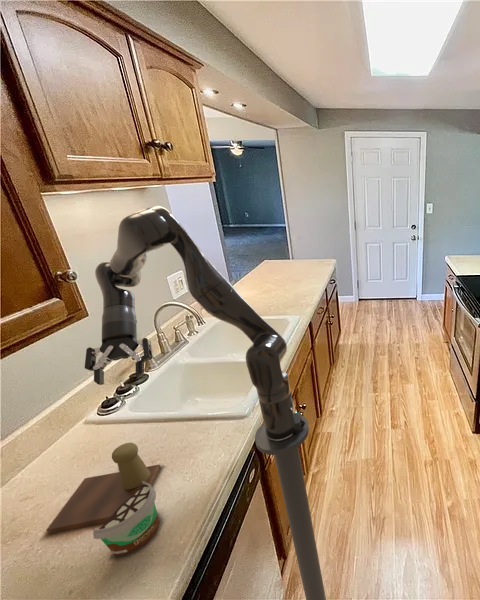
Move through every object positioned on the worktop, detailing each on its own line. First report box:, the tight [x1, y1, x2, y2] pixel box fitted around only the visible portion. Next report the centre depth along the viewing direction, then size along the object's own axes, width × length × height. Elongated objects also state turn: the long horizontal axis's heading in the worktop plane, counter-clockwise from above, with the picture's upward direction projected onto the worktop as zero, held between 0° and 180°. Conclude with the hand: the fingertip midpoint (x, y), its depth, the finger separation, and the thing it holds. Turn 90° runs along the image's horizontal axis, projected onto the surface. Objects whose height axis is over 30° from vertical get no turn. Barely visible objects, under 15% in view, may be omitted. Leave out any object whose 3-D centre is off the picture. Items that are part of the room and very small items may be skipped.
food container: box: [92, 481, 160, 557], centre depth 73 cm, size 12×6×10 cm, turn 170°
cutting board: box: [46, 464, 162, 535], centre depth 84 cm, size 18×14×2 cm
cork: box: [111, 442, 150, 489], centre depth 85 cm, size 6×6×11 cm
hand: (120, 380), depth 88 cm, fingers open, 8 cm apart
